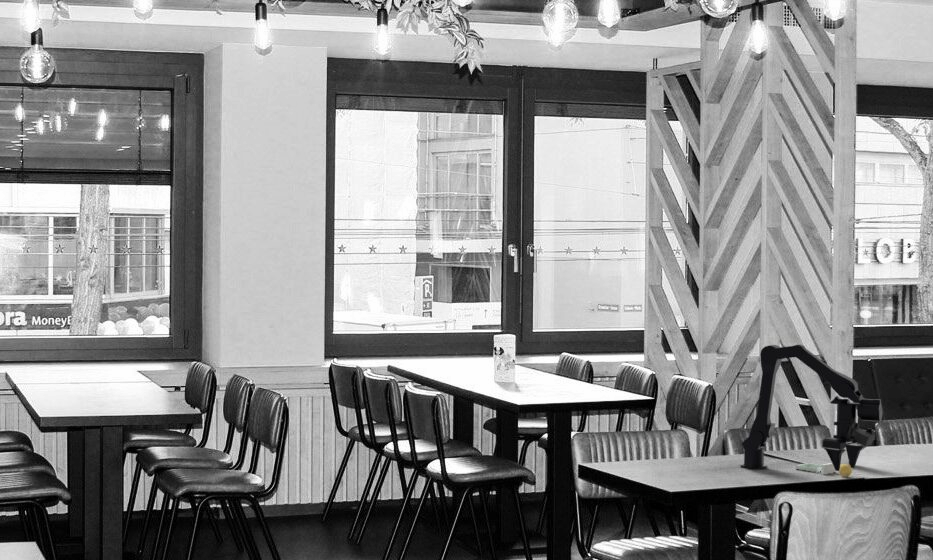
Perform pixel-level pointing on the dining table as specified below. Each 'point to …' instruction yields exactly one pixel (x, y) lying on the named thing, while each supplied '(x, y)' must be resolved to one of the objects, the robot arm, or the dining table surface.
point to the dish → (809, 467)
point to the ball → (845, 470)
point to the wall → (827, 468)
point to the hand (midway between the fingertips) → (845, 469)
